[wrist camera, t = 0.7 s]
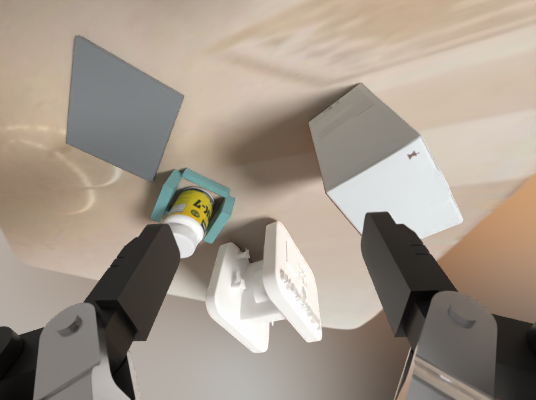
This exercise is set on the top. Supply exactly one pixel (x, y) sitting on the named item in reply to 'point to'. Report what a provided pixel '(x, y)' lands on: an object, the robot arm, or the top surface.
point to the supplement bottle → (190, 218)
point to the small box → (380, 165)
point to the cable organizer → (264, 291)
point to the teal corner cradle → (176, 176)
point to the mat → (119, 111)
